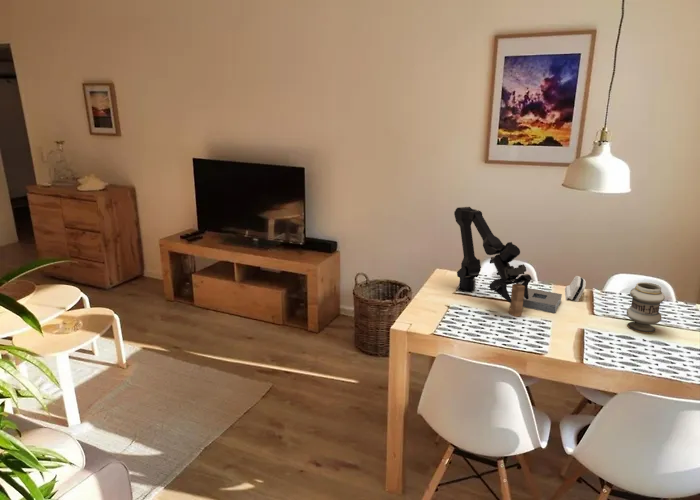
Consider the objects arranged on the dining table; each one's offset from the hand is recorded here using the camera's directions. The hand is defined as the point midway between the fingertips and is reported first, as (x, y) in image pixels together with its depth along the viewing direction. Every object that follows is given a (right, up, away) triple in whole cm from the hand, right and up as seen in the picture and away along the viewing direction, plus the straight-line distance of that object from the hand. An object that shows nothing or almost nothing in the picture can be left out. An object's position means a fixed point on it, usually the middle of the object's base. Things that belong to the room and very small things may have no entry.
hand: (519, 300), depth 210 cm
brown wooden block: (-1, -6, +3) cm, 7 cm away
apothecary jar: (+46, -10, -8) cm, 48 cm away
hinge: (+34, -1, +26) cm, 43 cm away
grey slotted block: (+14, -3, +16) cm, 21 cm away
